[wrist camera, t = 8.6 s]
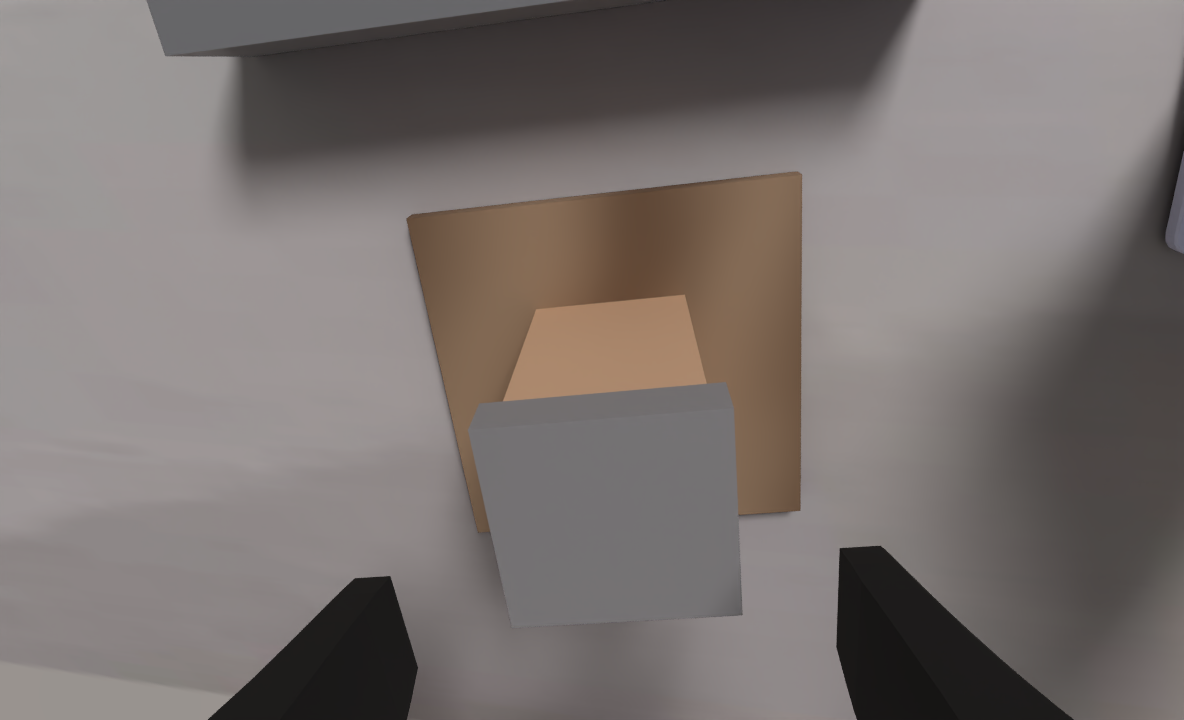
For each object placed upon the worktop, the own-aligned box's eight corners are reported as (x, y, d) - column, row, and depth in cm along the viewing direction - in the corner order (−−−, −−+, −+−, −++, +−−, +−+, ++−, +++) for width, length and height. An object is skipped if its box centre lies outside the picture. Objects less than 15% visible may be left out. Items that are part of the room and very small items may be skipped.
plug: (695, 282, 18) (733, 407, 11) (704, 434, 20) (742, 615, 13) (523, 300, 18) (467, 430, 12) (548, 446, 20) (511, 628, 14)
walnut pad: (797, 171, 17) (802, 174, 17) (796, 500, 21) (800, 510, 21) (411, 214, 18) (406, 218, 18) (481, 522, 22) (477, 532, 22)
